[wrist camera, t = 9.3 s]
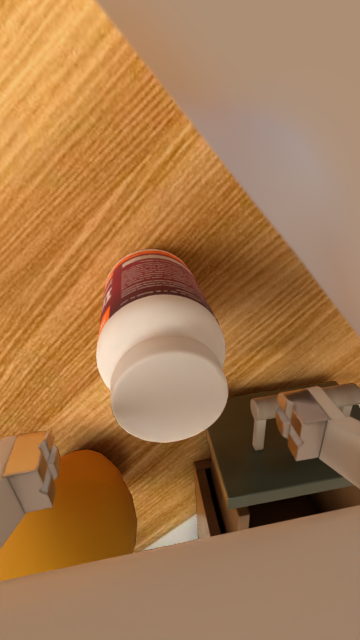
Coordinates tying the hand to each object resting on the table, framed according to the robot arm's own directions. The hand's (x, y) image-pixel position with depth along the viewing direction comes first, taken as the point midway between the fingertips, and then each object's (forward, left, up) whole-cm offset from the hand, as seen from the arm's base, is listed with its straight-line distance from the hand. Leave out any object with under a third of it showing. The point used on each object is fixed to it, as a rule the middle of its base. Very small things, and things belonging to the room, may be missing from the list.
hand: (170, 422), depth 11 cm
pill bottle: (0, 0, -12) cm, 12 cm away
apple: (+8, +16, -12) cm, 22 cm away
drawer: (-9, +15, -11) cm, 21 cm away
